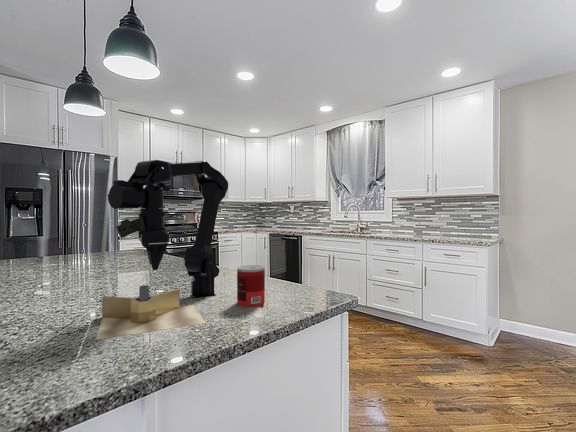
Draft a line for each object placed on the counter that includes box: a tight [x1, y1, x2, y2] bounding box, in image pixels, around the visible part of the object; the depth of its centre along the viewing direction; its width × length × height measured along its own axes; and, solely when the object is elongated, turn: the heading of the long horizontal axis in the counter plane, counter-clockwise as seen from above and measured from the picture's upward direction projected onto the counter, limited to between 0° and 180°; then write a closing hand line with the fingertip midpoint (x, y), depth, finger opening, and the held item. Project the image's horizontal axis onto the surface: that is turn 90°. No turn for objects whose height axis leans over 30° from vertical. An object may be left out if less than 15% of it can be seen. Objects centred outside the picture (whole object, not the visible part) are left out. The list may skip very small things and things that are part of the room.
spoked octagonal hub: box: [101, 288, 180, 324], centre depth 78 cm, size 18×9×5 cm, turn 116°
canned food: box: [236, 264, 266, 308], centre depth 90 cm, size 8×8×11 cm
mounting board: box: [95, 304, 207, 341], centre depth 76 cm, size 22×16×1 cm
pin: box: [138, 284, 151, 301], centre depth 76 cm, size 2×2×8 cm
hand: (153, 266), depth 84 cm, fingers open, 9 cm apart
